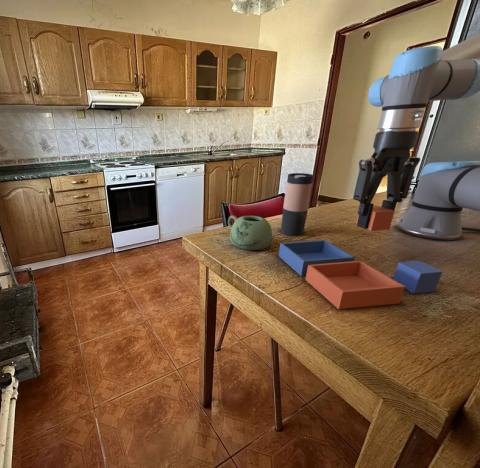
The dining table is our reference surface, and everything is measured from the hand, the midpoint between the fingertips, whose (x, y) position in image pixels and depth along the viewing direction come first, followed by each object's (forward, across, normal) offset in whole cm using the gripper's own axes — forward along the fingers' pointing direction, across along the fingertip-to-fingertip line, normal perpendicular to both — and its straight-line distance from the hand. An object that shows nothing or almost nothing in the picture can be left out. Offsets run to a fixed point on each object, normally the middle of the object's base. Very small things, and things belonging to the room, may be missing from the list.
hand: (372, 226), depth 67 cm
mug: (+9, -27, +16) cm, 33 cm away
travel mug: (+10, -8, +22) cm, 26 cm away
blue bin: (+9, -15, 0) cm, 18 cm away
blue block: (+10, 0, -14) cm, 17 cm away
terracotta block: (0, 0, 0) cm, 0 cm away
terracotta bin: (+9, -15, -13) cm, 22 cm away
